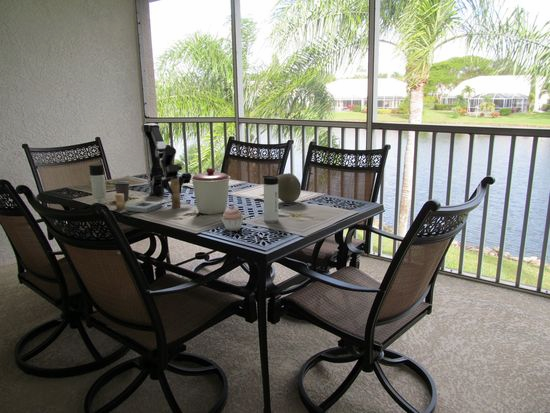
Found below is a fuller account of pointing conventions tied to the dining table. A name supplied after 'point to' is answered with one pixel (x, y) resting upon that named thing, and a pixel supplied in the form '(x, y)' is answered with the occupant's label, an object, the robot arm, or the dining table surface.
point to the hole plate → (143, 206)
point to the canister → (211, 191)
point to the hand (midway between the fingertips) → (176, 193)
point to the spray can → (98, 183)
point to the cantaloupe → (288, 187)
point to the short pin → (120, 201)
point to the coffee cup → (122, 188)
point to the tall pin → (175, 193)
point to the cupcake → (232, 218)
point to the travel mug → (270, 199)
